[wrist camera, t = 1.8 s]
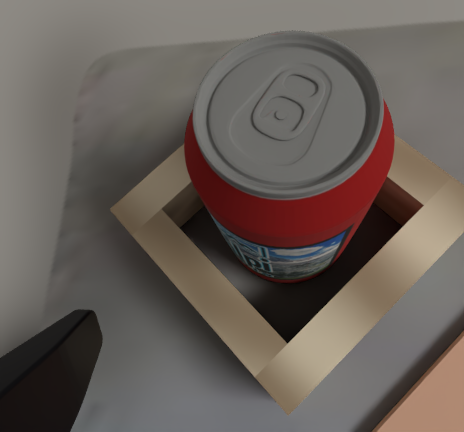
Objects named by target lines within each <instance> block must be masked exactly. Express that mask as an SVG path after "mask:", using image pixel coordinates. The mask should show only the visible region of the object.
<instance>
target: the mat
mask: <svg viewBox="0 0 464 432" xmlns="http://www.w3.org/2000/svg"><path fill="white" fill-rule="evenodd" d="M372 432H464V331H463V332H462V333H461V334H460V335H459V336H458V337H457V338H456V340H455V341H454V342H453V343H452V344H451V345H450V346H449V347H448V348H447V349H446V351H445V352H444V353H443V354H442V355H441V356H440V357H439V358H438V359H437V360H436V361H435V363H434V364H433V365H432V366H431V367H430V368H429V369H428V370H427V371H426V372H425V374H424V375H423V376H422V377H421V378H420V379H419V380H418V381H417V382H416V383H415V384H414V386H413V387H412V388H411V389H410V390H409V391H408V392H407V393H406V394H405V395H404V397H403V398H402V399H401V400H400V401H399V402H398V403H397V404H396V405H395V406H394V407H393V409H392V410H391V411H390V412H389V413H388V414H387V415H386V416H385V417H384V418H383V420H382V421H381V422H380V423H379V424H378V425H377V426H376V427H375V428H374V429H373V430H372Z"/></svg>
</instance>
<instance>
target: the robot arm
mask: <svg viewBox="0 0 464 432" xmlns="http://www.w3.org/2000/svg"><path fill="white" fill-rule="evenodd" d="M102 340H103V339H102V333H101V330H100V326H99V323H98V320H97V316H96V314H95V312H94V311H93V310H81V309H79V310H75V311H73V312H71V313H70V314H68V315H67V316H65V317H64V318H62V319H60V320H59V321H57V322H56V323H54V324H53V325H51V326H49V327H48V328H46V329H45V330H43V331H42V332H40V333H39V334H37V335H35V336H34V337H32V338H31V339H29V340H28V341H26V342H25V343H23V344H22V345H20V346H18V347H17V348H15V349H14V350H12V351H11V352H9V353H7V354H6V355H4V356H3V357H1V358H0V432H70V431H71V429H72V426H73V424H74V422H75V420H76V417H77V415H78V413H79V410H80V408H81V405H82V403H83V400H84V397H85V394H86V391H87V388H88V385H89V382H90V379H91V376H92V373H93V370H94V367H95V364H96V361H97V358H98V355H99V352H100V349H101V346H102Z"/></svg>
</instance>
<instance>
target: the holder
mask: <svg viewBox="0 0 464 432" xmlns="http://www.w3.org/2000/svg"><path fill="white" fill-rule="evenodd" d="M394 139H395V144H394V154H393V160H392V164H391V167H390V170H389V172H388V175H387V177H386V179H385V181H384V183H383V185H382V187H381V188H380V190H379V192H378V194H377V196H376V197H375V199H374V201H373V203H374V204H376V205H377V206H378V207H379V208H381V209H382V210H383V211H384V212H385V213H387V214H388V215H389V216H390V217H392V218H393V219H394V220H395V221H396V222H398V223H399V224H400V225H401V226H402V228H401V229H400V230H399V231H398V232H397V233H396V234H395V235H394V236H393V237H392V238H391V239H390V240H389V241H388V242H387V243H386V244H385V245H384V246H383V247H382V248H381V249H380V250H379V251H378V252H377V253H376V254H375V256H374V257H373V258H372V259H371V260H370V261H369V262H368V263H367V264H366V265H365V266H364V267H363V268H362V269H361V270H360V271H359V272H358V273H357V274H356V275H355V276H354V277H353V278H352V279H351V280H350V281H349V282H348V283H347V284H346V285H345V286H344V287H343V288H342V289H341V290H340V291H339V292H338V293H337V294H336V295H335V296H334V297H333V298H332V299H331V300H330V301H329V302H328V303H327V304H326V305H325V306H324V307H323V308H322V309H321V310H320V311H319V312H318V313H317V314H316V315H315V316H314V317H313V318H312V319H311V320H310V322H309V323H308V324H307V325H306V326H305V327H304V328H303V329H302V330H301V331H300V332H299V333H298V334H297V335H296V336H295V337H294V338H293V339H292V340H291V341H290V342H289V343H288V344H287V342H286V341H285V340H284V339H283V338H282V337H281V336H280V335H279V334H278V333H277V332H276V331H275V330H274V329H273V327H272V326H271V325H270V324H269V323H268V322H267V321H266V320H265V319H264V318H263V317H262V316H261V315H260V314H259V312H258V311H257V310H256V309H255V308H254V307H253V306H252V305H251V304H250V303H249V302H248V301H247V300H246V299H245V297H244V296H243V295H242V294H241V293H240V292H239V291H238V290H237V289H236V288H235V287H234V286H233V285H232V284H231V282H230V281H229V280H228V279H227V278H226V277H225V276H224V275H223V274H222V273H221V272H220V271H219V270H218V269H217V268H216V266H215V265H214V264H213V263H212V262H211V261H210V260H209V259H208V258H207V257H206V256H205V255H204V254H203V253H202V251H201V250H200V249H199V248H198V247H197V246H196V245H195V244H194V243H193V242H192V241H191V240H190V239H189V238H188V236H187V235H186V234H185V233H184V232H183V231H182V230H181V229H180V227H181V226H182V225H183V224H185V223H186V222H187V221H188V220H189V219H190V218H191V217H192V216H193V215H194V214H195V213H196V212H198V211H199V210H200V209H201V208H202V207H203V206H204V203H203V201H202V200H201V198H200V196H199V194H198V193H197V191H196V189H195V187H194V185H193V183H192V181H191V179H190V176H189V174H188V171H187V167H186V162H185V155H184V144H183V145H182V146H180V147H179V148H178V149H177V150H176V151H175V152H174V153H173V154H171V155H170V156H169V157H168V158H167V159H166V160H165V161H164V162H162V163H161V164H160V165H159V166H158V167H157V168H156V169H154V170H153V171H152V172H151V173H150V174H149V175H148V176H147V177H145V178H144V179H143V180H142V181H141V182H140V183H139V184H138V185H136V186H135V187H134V188H133V189H132V190H131V191H130V192H129V193H127V194H126V195H125V196H124V197H123V198H122V199H121V200H120V201H118V202H117V203H116V204H115V205H114V206H113V207H112V208H111V209H110V211H111V212H112V213H113V214H114V215H115V216H116V218H117V219H118V220H119V221H120V222H121V223H122V224H123V226H124V227H125V228H126V229H127V230H128V231H129V233H130V234H131V235H132V236H133V237H134V238H135V239H136V241H137V242H138V243H139V244H140V245H141V246H142V248H143V249H144V250H145V251H146V252H147V253H148V254H149V256H150V257H151V258H152V259H153V260H154V261H155V263H156V264H157V265H158V266H159V267H160V268H161V269H162V271H163V272H164V273H165V274H166V275H167V276H168V278H169V279H170V280H171V281H172V282H173V283H174V284H175V286H176V287H177V288H178V289H179V290H180V291H181V293H182V294H183V295H184V296H185V297H186V298H187V300H188V301H189V302H190V303H191V304H192V305H193V306H194V308H195V309H196V310H197V311H198V312H199V313H200V315H201V316H202V317H203V318H204V319H205V320H206V321H207V323H208V324H209V325H210V326H211V327H212V328H213V330H214V331H215V332H216V333H217V334H218V335H219V336H220V338H221V339H222V340H223V341H224V342H225V343H226V345H227V346H228V347H229V348H230V349H231V350H232V351H233V353H234V354H235V355H236V356H237V357H238V358H239V360H240V361H241V362H242V363H243V364H244V365H245V366H246V368H247V369H248V370H249V371H250V372H251V373H252V375H253V376H254V377H255V378H256V379H257V380H258V381H259V383H260V384H261V385H262V386H263V387H264V388H265V390H266V391H267V392H268V393H269V394H270V395H271V396H272V398H273V399H274V400H275V401H276V402H277V403H278V405H279V406H280V407H281V408H282V409H283V410H284V411H285V413H286V414H287V415H289V414H290V413H291V412H292V411H293V410H294V409H295V408H296V407H297V406H298V405H299V404H300V403H301V402H302V401H303V400H304V399H305V398H306V397H307V396H308V395H309V393H310V392H311V391H312V390H313V389H314V388H315V387H316V386H317V385H318V384H319V383H320V382H321V381H322V380H323V379H324V378H325V377H326V376H327V375H328V374H329V373H330V371H331V370H332V369H333V368H334V367H335V366H336V365H337V364H338V363H339V362H340V361H341V360H342V359H343V358H344V357H345V356H346V355H347V354H348V353H349V352H350V351H351V349H352V348H353V347H354V346H355V345H356V344H357V343H358V342H359V341H360V340H361V339H362V338H363V337H364V336H365V335H366V334H367V333H368V332H369V331H370V330H371V329H372V327H373V326H374V325H375V324H376V323H377V322H378V321H379V320H380V319H381V318H382V317H383V316H384V315H385V314H386V313H387V312H388V311H389V310H390V309H391V308H392V307H393V305H394V304H395V303H396V302H397V301H398V300H399V299H400V298H401V297H402V296H403V295H404V294H405V293H406V292H407V291H408V290H409V289H410V288H411V287H412V286H413V285H414V283H415V282H416V281H417V280H418V279H419V278H420V277H421V276H422V275H423V274H424V273H425V272H426V271H427V270H428V269H429V268H430V267H431V266H432V265H433V264H434V263H435V261H436V260H437V259H438V258H439V257H440V256H441V255H442V254H443V253H444V252H445V251H446V250H447V249H448V248H449V247H450V246H451V245H452V244H453V243H454V242H455V241H456V239H457V238H458V237H459V236H460V235H461V234H462V233H463V232H464V185H463V184H461V183H460V182H459V181H457V180H456V179H455V178H453V177H452V176H451V175H449V174H448V173H446V172H445V171H444V170H442V169H441V168H440V167H438V166H437V165H436V164H434V163H433V162H431V161H430V160H429V159H427V158H426V157H425V156H423V155H422V154H421V153H419V152H418V151H416V150H415V149H414V148H412V147H411V146H410V145H408V144H407V143H406V142H404V141H403V140H401V139H400V138H399V137H397V136H396V135H395V134H394Z"/></svg>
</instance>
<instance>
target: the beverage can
mask: <svg viewBox="0 0 464 432" xmlns="http://www.w3.org/2000/svg"><path fill="white" fill-rule="evenodd" d="M394 144H395V139H394V128H393V123H392V119H391V115H390V112H389V110H388V107H387V105H386V103H385V101H384V99H383V95H382V91H381V87H380V85H379V82H378V80H377V78H376V76H375V74H374V72H373V71H372V69H371V68H370V66H369V65H368V64H367V62H366V61H365V60H364V59H363V58H362V57H361V56H360V55H359V54H357V53H356V52H355V51H354V50H352V49H351V48H350V47H348V46H347V45H345V44H343V43H341V42H339V41H338V40H335V39H333V38H330V37H327V36H324V35H321V34H317V33H312V32H305V31H281V32H274V33H269V34H264V35H261V36H258V37H255V38H252V39H250V40H247V41H245V42H243V43H241V44H239V45H238V46H236V47H234V48H233V49H231V50H230V51H228V52H227V53H226V54H224V55H223V56H222V57H221V58H220V59H219V60H218V61H217V62H216V63H215V64H214V65H213V66H212V67H211V68H210V70H209V71H208V72H207V74H206V75H205V77H204V78H203V80H202V82H201V84H200V86H199V88H198V91H197V94H196V97H195V101H194V106H193V110H192V112H191V115H190V117H189V120H188V124H187V128H186V133H185V140H184V155H185V162H186V167H187V171H188V174H189V176H190V179H191V181H192V183H193V185H194V187H195V189H196V191H197V193H198V194H199V196H200V198H201V200H202V201H203V203H204V205H205V207H206V208H207V210H208V212H209V213H210V215H211V217H212V218H213V220H214V222H215V223H216V225H217V227H218V228H219V230H220V232H221V233H222V235H223V237H224V238H225V240H226V241H227V243H228V244H229V246H230V248H231V249H232V250H233V252H234V253H235V255H236V256H237V258H238V259H239V260H240V262H241V263H242V264H243V265H244V266H245V267H246V268H247V269H249V270H250V271H251V272H253V273H254V274H256V275H257V276H259V277H261V278H264V279H266V280H269V281H273V282H278V283H298V282H303V281H307V280H310V279H312V278H315V277H317V276H319V275H320V274H322V273H324V272H325V271H326V270H328V269H329V268H330V267H331V266H332V265H333V264H334V263H335V262H336V260H337V259H338V258H339V256H340V255H341V253H342V252H343V250H344V249H345V247H346V246H347V244H348V243H349V241H350V239H351V238H352V236H353V235H354V233H355V231H356V230H357V228H358V226H359V225H360V223H361V221H362V220H363V218H364V216H365V215H366V213H367V211H368V210H369V208H370V206H371V204H372V203H373V201H374V199H375V197H376V196H377V194H378V192H379V190H380V188H381V187H382V185H383V183H384V181H385V179H386V177H387V175H388V172H389V170H390V167H391V164H392V160H393V154H394Z"/></svg>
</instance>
